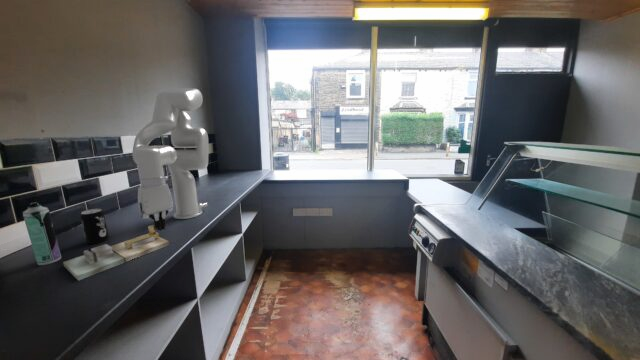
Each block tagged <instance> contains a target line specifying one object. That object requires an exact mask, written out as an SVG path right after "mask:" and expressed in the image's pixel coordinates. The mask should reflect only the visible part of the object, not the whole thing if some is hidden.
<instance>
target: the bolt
mask: <svg viewBox="0 0 640 360" xmlns="http://www.w3.org/2000/svg"><path fill="white" fill-rule="evenodd" d="M147 229H148V233H147V235H146V234H143V235H144V236H143V235H140V236H141V237H140V236H137V237H138V238H137V237H134V238H135V239H134V238H131V239H132V240H131V239H128V240H129V241H128V240H125V241H126V242H125V241H123V242H124V244H125V247H126V248H131V247H132V246H131V244H134V243H137V242H139V241H142V240H145V239H148V238H151V237H154V238H155V239H156V238H159V237H160V234H159V232H157V231H156V228H155V224H152V225H148V226H147Z"/></svg>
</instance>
